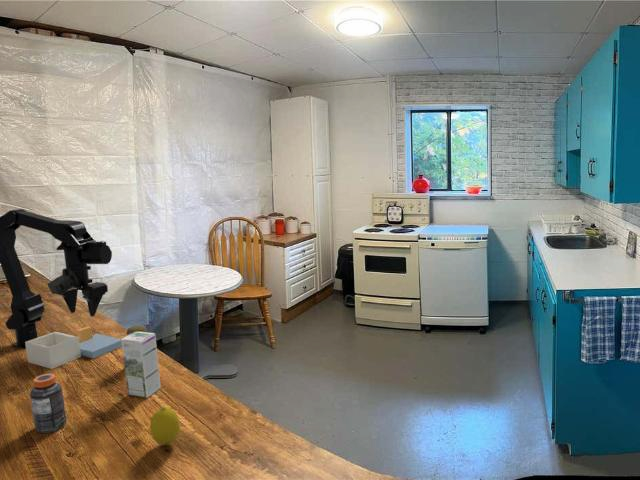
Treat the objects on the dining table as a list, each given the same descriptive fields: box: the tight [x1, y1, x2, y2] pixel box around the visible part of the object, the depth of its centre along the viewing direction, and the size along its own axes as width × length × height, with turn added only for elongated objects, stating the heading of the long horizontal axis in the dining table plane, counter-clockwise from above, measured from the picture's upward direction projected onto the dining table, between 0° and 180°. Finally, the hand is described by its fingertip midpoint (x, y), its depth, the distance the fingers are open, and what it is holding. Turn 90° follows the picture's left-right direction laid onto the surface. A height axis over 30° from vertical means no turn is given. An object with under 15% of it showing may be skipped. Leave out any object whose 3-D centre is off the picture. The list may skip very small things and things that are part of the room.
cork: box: [126, 324, 148, 336], centre depth 136 cm, size 6×6×11 cm
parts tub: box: [25, 331, 82, 370], centre depth 142 cm, size 11×9×6 cm
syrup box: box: [120, 331, 162, 399], centre depth 119 cm, size 6×6×14 cm
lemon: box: [149, 406, 181, 446], centre depth 97 cm, size 6×6×8 cm
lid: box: [75, 325, 122, 360], centre depth 149 cm, size 12×10×6 cm
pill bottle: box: [29, 373, 67, 434], centre depth 105 cm, size 6×6×11 cm
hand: (82, 314), depth 150 cm, fingers open, 9 cm apart
